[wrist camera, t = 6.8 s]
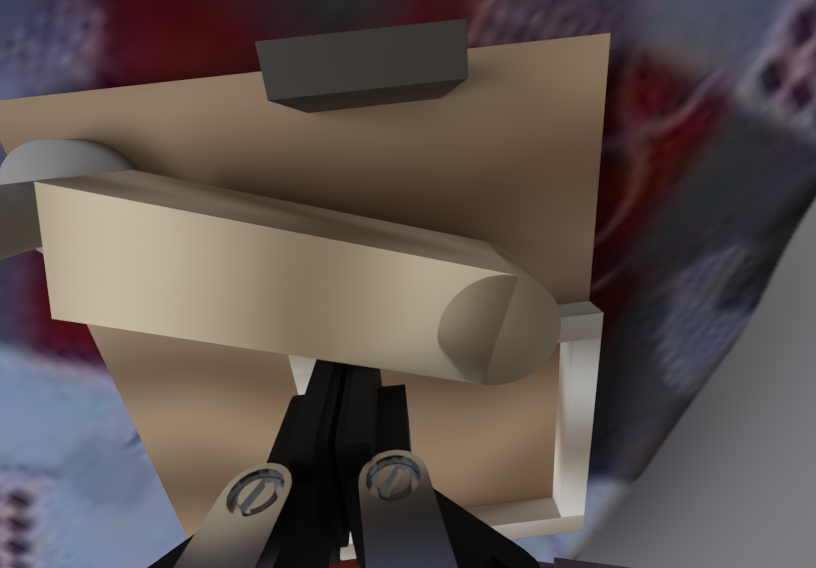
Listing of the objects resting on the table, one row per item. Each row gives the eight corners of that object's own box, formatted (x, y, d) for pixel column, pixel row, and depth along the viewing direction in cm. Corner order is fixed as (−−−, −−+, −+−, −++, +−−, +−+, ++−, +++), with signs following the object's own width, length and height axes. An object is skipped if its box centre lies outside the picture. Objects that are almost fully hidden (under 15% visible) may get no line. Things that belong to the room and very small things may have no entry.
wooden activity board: (29, 106, 12) (-336, 73, 6) (585, 45, 12) (780, -48, 6) (213, 532, 19) (133, 712, 13) (558, 489, 19) (635, 648, 13)
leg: (136, 272, 11) (52, 318, 8) (131, 169, 10) (33, 181, 7) (503, 336, 12) (537, 392, 10) (532, 251, 11) (579, 287, 9)
